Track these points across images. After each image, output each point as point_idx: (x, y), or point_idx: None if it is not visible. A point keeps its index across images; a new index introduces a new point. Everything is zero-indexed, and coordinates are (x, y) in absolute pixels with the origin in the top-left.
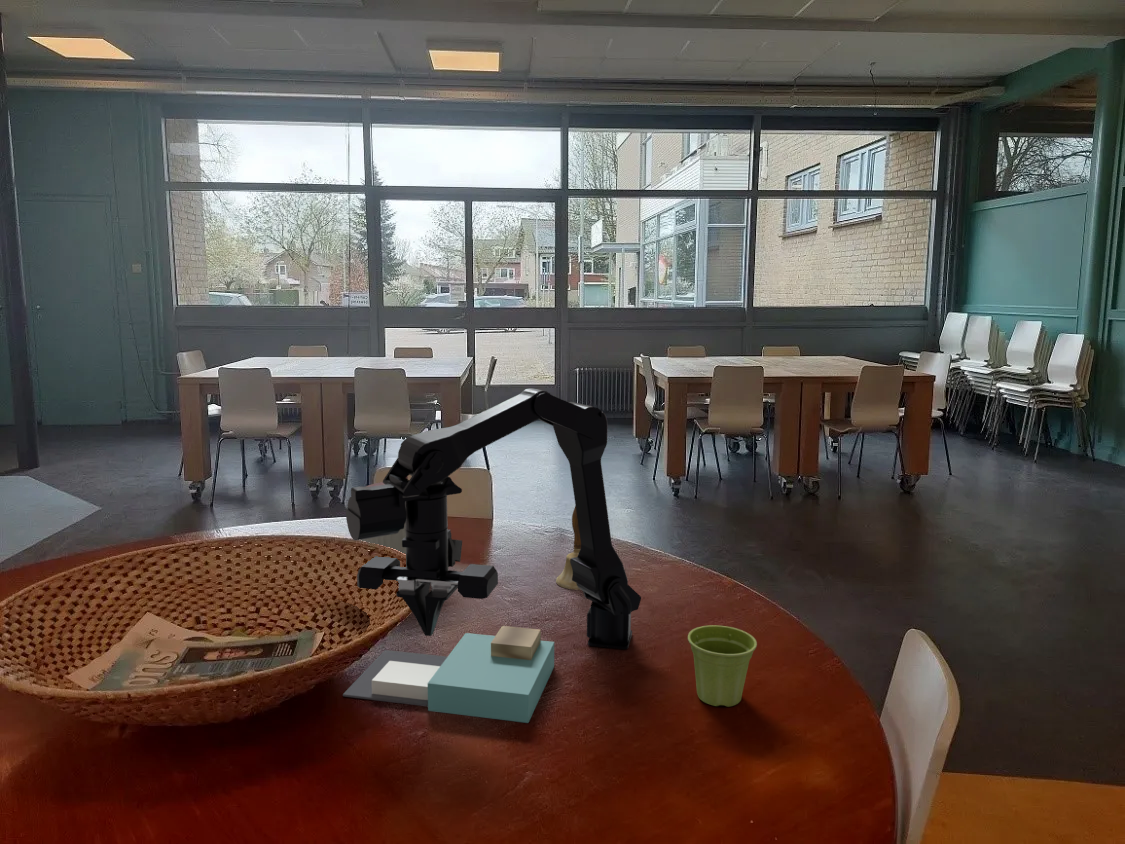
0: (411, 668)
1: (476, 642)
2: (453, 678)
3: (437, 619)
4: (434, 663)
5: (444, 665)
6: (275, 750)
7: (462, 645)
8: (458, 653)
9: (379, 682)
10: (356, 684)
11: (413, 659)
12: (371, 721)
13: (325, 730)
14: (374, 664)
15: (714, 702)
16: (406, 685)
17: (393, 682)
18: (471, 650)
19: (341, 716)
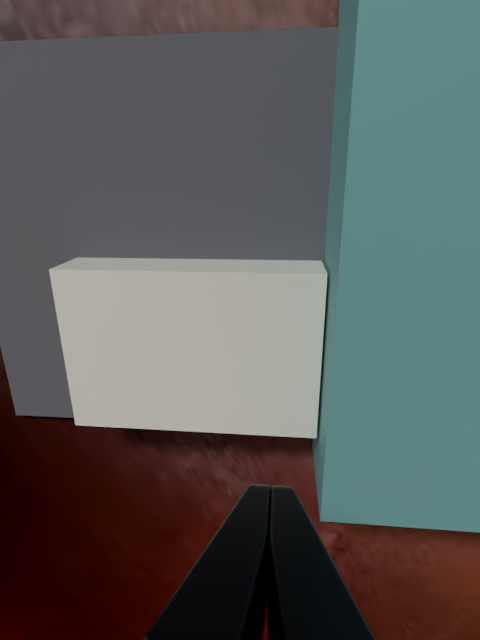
0: (173, 316)
1: (476, 60)
2: (420, 477)
3: (337, 576)
4: (213, 125)
5: (347, 382)
6: (34, 617)
7: (388, 136)
8: (387, 244)
9: (107, 423)
10: (15, 354)
11: (105, 110)
12: (173, 509)
13: (85, 552)
14: None
15: None
16: (211, 429)
17: (158, 428)
18: (459, 189)
19: (83, 498)
